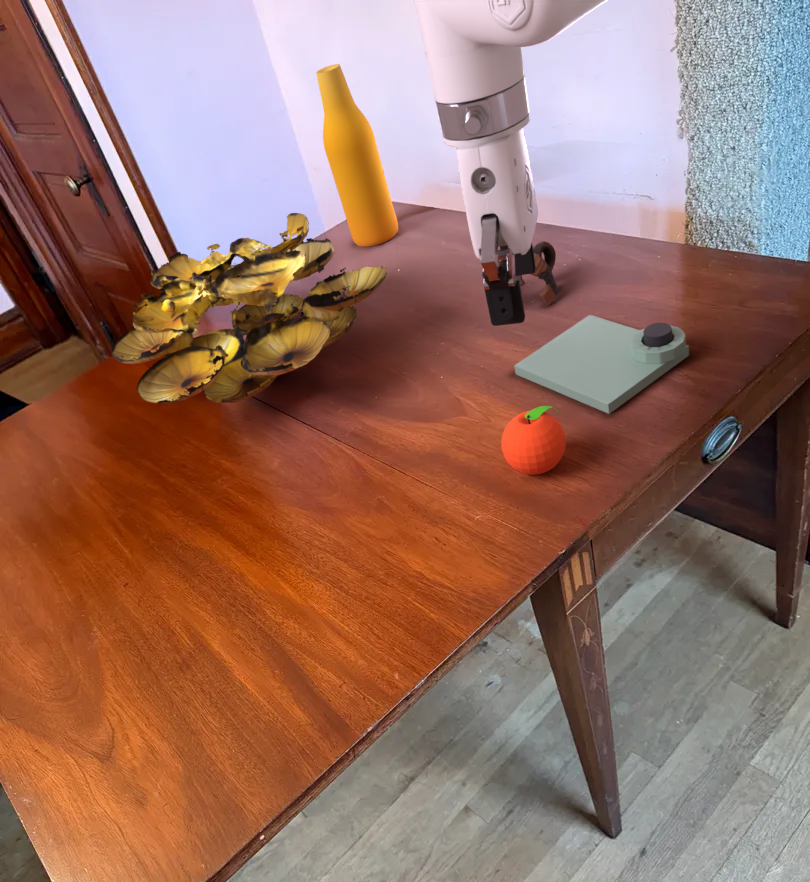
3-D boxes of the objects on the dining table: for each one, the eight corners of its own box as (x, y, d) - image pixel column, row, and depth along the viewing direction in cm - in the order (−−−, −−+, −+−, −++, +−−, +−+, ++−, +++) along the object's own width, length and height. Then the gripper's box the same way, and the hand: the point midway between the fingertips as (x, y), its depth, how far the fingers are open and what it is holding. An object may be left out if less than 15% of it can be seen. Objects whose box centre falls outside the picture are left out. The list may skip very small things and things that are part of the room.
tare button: (677, 338, 89) (677, 326, 88) (659, 351, 88) (659, 339, 87) (656, 331, 92) (655, 320, 91) (638, 344, 91) (637, 332, 90)
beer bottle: (347, 250, 143) (294, 83, 124) (361, 229, 149) (312, 66, 130) (392, 243, 140) (344, 70, 120) (404, 222, 146) (360, 54, 127)
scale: (695, 354, 91) (696, 332, 89) (612, 415, 86) (610, 394, 84) (593, 321, 102) (591, 301, 100) (515, 374, 98) (511, 354, 96)
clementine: (539, 435, 87) (530, 384, 82) (588, 453, 83) (581, 400, 78) (494, 475, 84) (482, 424, 80) (542, 495, 80) (532, 443, 75)
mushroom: (340, 273, 136) (307, 176, 125) (447, 368, 103) (416, 247, 91) (131, 368, 131) (76, 275, 119) (173, 500, 98) (103, 389, 86)
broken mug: (543, 320, 107) (506, 277, 103) (505, 333, 115) (469, 294, 112) (584, 260, 110) (549, 217, 106) (543, 277, 118) (510, 238, 115)
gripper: (514, 138, 56) (544, 339, 67) (538, 70, 67) (560, 252, 79) (420, 158, 58) (464, 348, 70) (458, 89, 70) (490, 262, 81)
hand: (514, 297), depth 74 cm, fingers open, 9 cm apart
